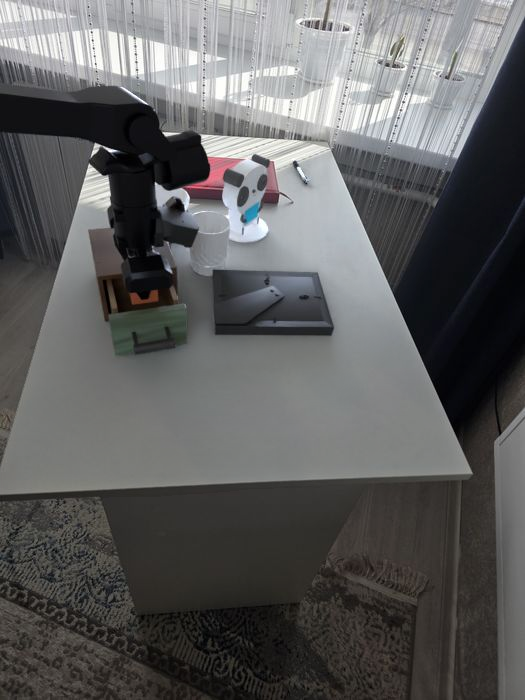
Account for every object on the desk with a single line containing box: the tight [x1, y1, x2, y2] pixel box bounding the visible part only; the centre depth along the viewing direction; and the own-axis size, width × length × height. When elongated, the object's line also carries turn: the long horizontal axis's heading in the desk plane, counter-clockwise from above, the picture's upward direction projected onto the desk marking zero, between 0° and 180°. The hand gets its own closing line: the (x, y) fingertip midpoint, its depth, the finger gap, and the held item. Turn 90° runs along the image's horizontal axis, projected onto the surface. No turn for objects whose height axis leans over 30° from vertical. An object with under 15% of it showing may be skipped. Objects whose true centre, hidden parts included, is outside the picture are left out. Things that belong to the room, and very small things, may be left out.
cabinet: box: [87, 227, 179, 323], centre depth 82 cm, size 14×13×10 cm
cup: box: [155, 183, 191, 245], centre depth 96 cm, size 10×10×9 cm
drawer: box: [106, 278, 188, 357], centre depth 75 cm, size 17×11×8 cm
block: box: [129, 290, 158, 305], centre depth 72 cm, size 4×4×4 cm
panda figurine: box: [222, 153, 271, 244], centre depth 99 cm, size 12×11×15 cm
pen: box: [292, 158, 309, 185], centre depth 126 cm, size 14×2×1 cm, turn 12°
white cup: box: [189, 210, 231, 277], centre depth 90 cm, size 8×8×10 cm
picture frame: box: [211, 269, 335, 337], centre depth 86 cm, size 16×3×21 cm
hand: (142, 290), depth 72 cm, fingers closed on block, 4 cm apart
